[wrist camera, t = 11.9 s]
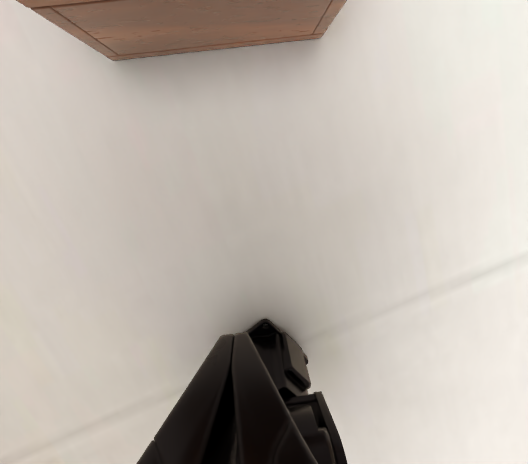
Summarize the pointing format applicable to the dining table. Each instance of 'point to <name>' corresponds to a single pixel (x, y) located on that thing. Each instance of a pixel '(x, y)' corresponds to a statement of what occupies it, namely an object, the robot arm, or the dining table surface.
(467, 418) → the dining table surface
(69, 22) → the bin
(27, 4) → the bin lid
